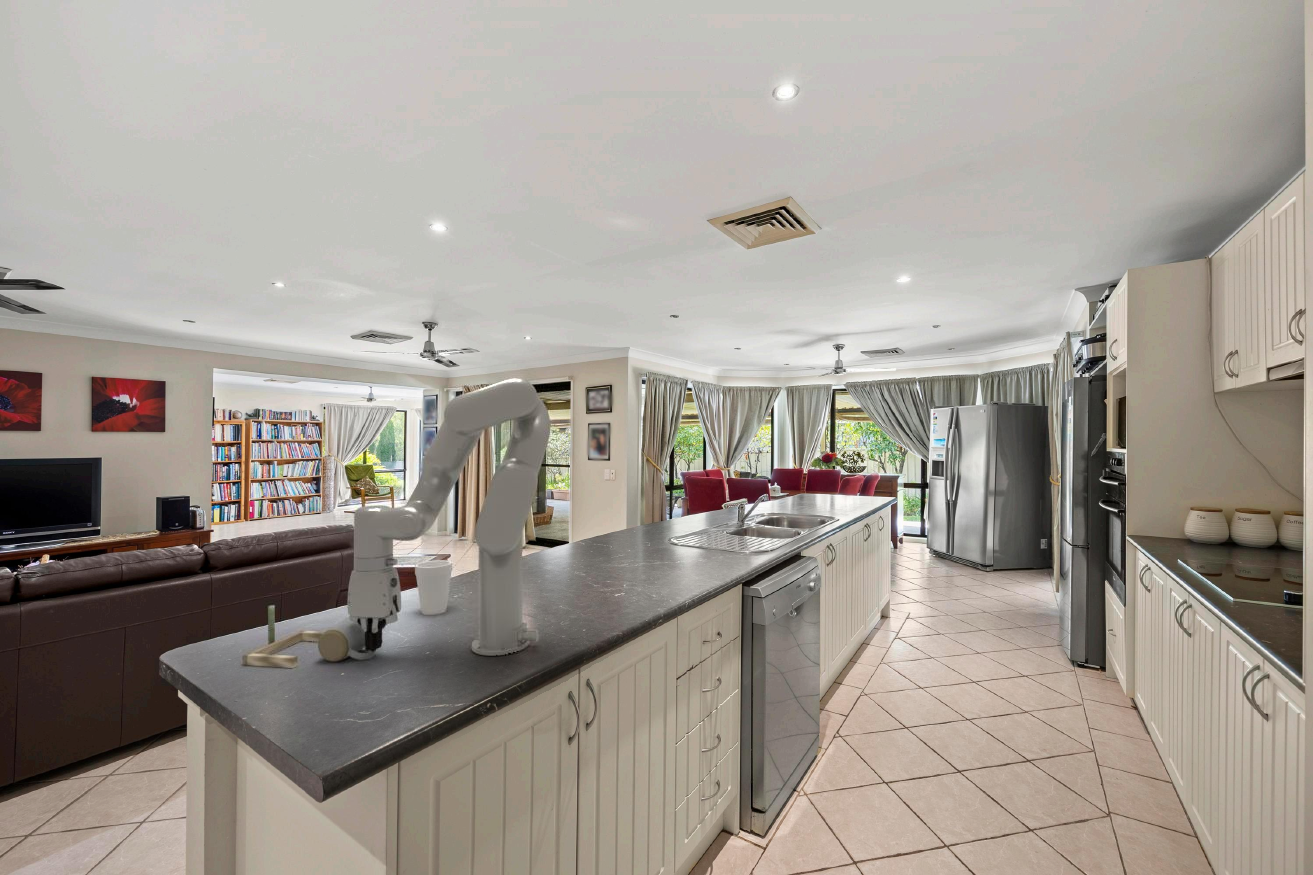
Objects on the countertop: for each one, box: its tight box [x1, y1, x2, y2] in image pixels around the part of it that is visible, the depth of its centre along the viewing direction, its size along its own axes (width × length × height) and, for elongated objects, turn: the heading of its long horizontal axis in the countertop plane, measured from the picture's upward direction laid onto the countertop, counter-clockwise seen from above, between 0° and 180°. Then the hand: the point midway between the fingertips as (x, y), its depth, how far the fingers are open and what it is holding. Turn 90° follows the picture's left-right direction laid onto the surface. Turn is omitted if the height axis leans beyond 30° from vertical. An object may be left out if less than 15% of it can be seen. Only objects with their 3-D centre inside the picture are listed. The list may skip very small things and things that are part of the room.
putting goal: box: [241, 604, 325, 669], centre depth 122 cm, size 13×15×10 cm
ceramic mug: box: [317, 616, 377, 663], centre depth 120 cm, size 11×8×8 cm
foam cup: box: [414, 559, 453, 616], centre depth 151 cm, size 10×9×13 cm
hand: (373, 648), depth 119 cm, fingers closed
